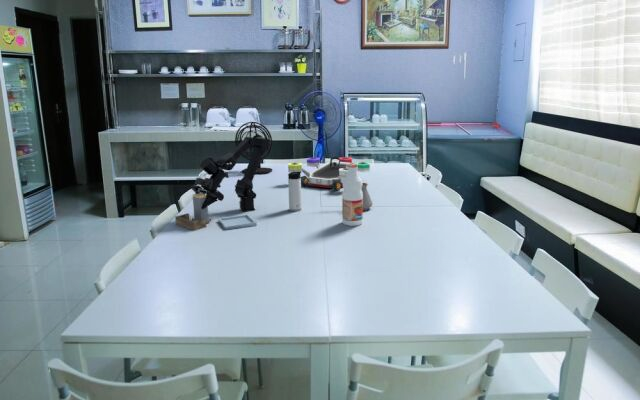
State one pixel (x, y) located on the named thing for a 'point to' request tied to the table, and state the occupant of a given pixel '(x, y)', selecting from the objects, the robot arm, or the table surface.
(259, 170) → the desk fan
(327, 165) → the cart
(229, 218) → the slate tray
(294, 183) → the travel mug
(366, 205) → the coffee pot
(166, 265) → the table surface
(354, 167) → the fruit juice
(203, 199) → the grey upright block piece
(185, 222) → the walnut bay
